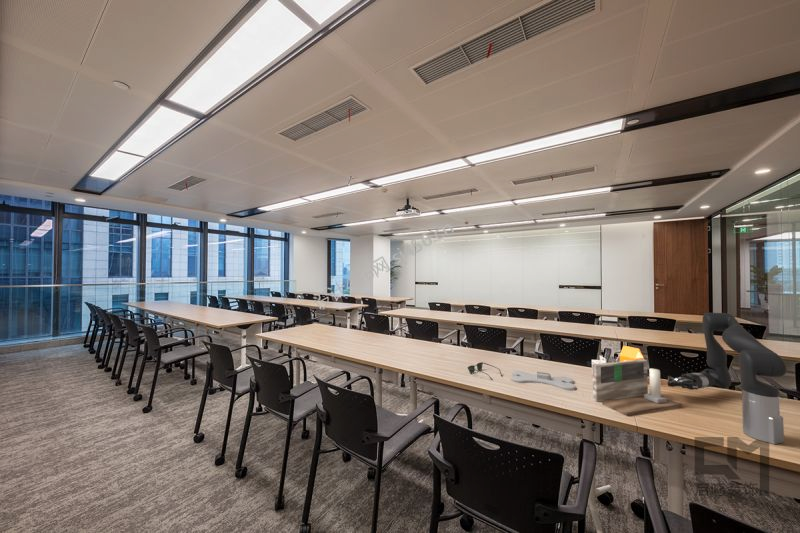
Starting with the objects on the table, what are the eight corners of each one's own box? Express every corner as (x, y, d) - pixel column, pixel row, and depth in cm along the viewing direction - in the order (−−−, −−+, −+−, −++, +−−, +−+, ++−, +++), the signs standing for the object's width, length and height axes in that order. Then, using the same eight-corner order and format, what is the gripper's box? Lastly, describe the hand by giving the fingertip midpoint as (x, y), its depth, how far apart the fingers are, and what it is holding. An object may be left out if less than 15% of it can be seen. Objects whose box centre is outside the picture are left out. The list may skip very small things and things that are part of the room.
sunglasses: (490, 382, 171) (490, 373, 171) (467, 374, 184) (466, 366, 184) (505, 375, 181) (504, 367, 182) (482, 369, 194) (482, 361, 195)
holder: (576, 392, 156) (576, 383, 156) (510, 382, 171) (509, 373, 171) (572, 380, 173) (572, 372, 173) (512, 372, 188) (512, 364, 188)
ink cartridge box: (591, 378, 175) (590, 354, 176) (600, 379, 174) (600, 354, 175) (598, 384, 167) (597, 358, 167) (607, 384, 166) (607, 359, 166)
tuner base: (681, 407, 138) (680, 369, 138) (627, 416, 129) (626, 375, 130) (643, 392, 154) (642, 359, 154) (593, 400, 146) (592, 364, 146)
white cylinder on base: (666, 401, 139) (665, 371, 140) (657, 403, 138) (656, 372, 138) (643, 392, 150) (642, 364, 150) (634, 394, 148) (633, 365, 149)
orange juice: (628, 377, 177) (627, 344, 178) (644, 382, 169) (643, 348, 169) (619, 379, 174) (619, 346, 175) (636, 384, 166) (635, 349, 167)
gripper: (678, 369, 155) (654, 372, 151) (710, 378, 142) (685, 381, 138) (679, 383, 155) (655, 386, 150) (710, 393, 142) (685, 397, 138)
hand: (669, 384), depth 144 cm, fingers closed
